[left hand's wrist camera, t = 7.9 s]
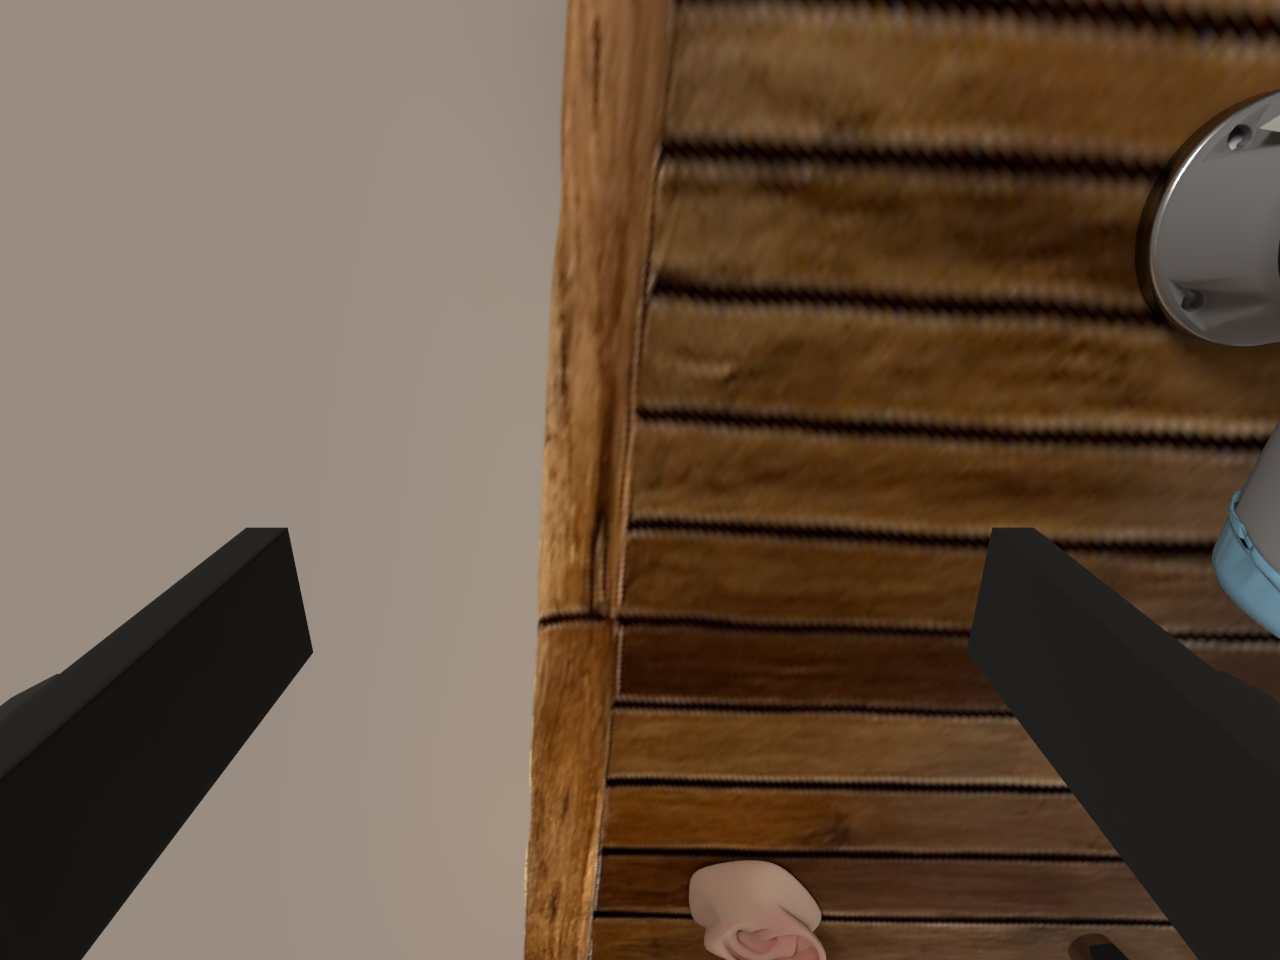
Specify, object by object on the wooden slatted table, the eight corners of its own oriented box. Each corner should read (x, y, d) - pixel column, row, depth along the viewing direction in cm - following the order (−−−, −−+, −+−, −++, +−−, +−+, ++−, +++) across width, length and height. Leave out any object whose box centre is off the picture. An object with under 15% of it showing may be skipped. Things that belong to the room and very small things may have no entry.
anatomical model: (669, 919, 61) (787, 877, 59) (667, 879, 65) (778, 838, 63) (730, 1005, 65) (842, 968, 63) (725, 963, 69) (831, 927, 67)
